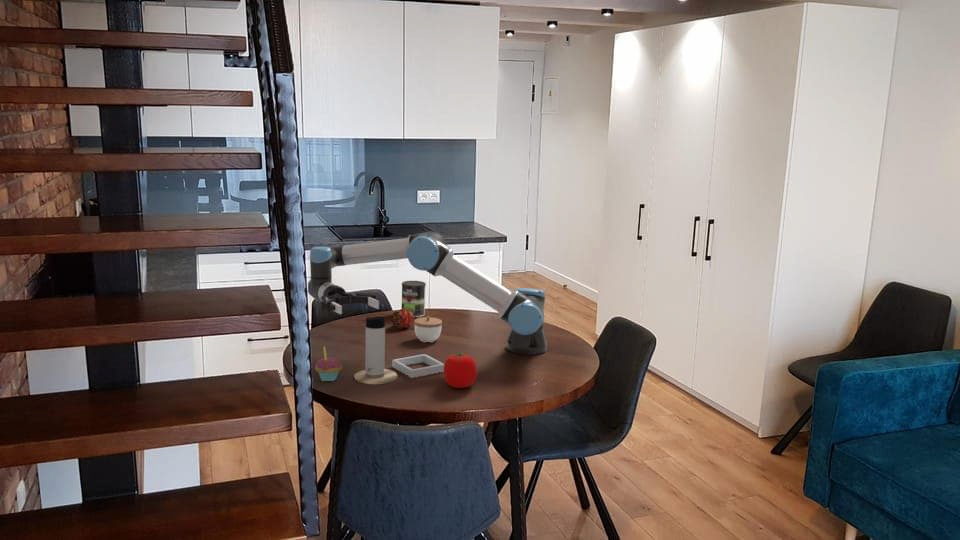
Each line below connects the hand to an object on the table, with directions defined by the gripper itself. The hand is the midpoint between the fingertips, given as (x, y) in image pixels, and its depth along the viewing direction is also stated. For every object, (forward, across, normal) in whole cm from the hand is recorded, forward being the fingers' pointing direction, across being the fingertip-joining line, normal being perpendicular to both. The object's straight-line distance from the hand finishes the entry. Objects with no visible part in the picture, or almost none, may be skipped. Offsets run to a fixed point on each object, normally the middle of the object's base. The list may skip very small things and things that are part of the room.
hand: (359, 307), depth 245 cm
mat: (+10, 0, -21) cm, 24 cm away
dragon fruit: (-37, -38, -22) cm, 57 cm away
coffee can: (-52, -51, -22) cm, 76 cm away
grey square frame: (+10, -16, -22) cm, 29 cm away
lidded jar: (-17, -37, -22) cm, 46 cm away
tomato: (+31, -20, -22) cm, 43 cm away
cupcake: (+5, +14, -21) cm, 26 cm away
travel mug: (+10, 0, -21) cm, 23 cm away
